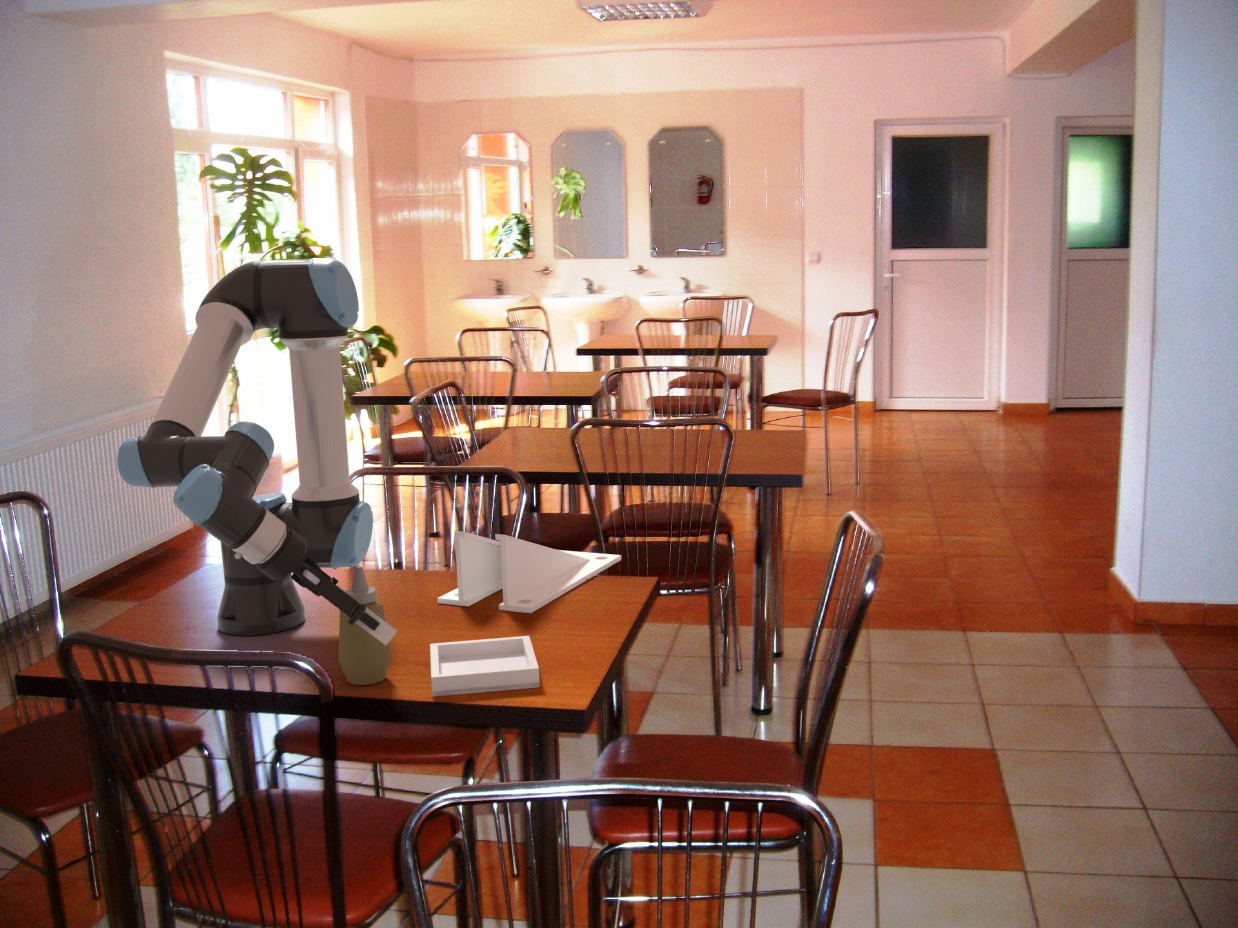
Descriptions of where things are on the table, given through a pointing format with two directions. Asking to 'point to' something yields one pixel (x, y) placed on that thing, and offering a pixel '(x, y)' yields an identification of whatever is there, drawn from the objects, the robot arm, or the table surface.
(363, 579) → the squeeze bottle
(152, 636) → the table surface
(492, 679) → the tray
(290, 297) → the robot arm
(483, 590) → the white bracket
